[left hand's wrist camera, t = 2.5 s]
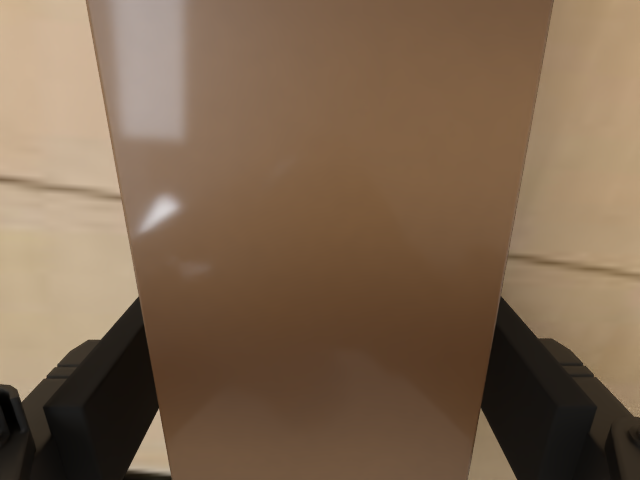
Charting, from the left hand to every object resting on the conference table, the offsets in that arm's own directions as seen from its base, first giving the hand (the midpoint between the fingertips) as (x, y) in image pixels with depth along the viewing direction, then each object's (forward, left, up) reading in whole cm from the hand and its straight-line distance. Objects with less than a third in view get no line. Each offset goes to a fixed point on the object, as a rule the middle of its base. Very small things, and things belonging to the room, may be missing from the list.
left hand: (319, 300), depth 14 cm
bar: (+6, +6, -1) cm, 8 cm away
